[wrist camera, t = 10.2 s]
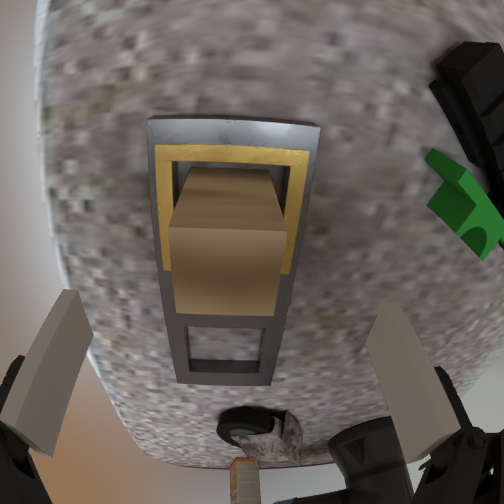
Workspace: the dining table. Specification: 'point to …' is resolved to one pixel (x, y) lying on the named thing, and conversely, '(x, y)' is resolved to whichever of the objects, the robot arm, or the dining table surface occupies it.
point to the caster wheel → (262, 435)
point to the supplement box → (244, 482)
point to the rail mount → (476, 106)
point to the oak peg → (227, 243)
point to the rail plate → (292, 207)
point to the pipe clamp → (465, 206)
